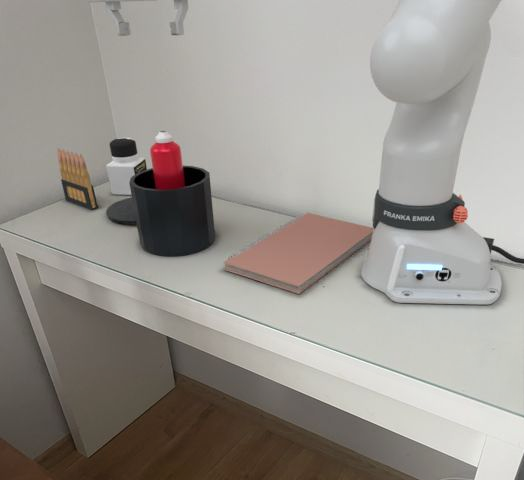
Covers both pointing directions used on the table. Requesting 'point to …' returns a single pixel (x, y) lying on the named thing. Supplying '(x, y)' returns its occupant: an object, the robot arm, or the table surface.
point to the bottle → (167, 162)
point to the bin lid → (122, 212)
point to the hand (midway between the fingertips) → (150, 35)
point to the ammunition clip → (76, 180)
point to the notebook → (299, 251)
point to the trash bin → (174, 213)
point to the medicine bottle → (124, 165)
